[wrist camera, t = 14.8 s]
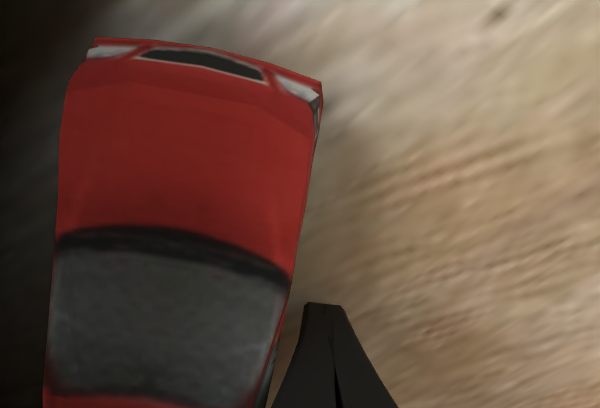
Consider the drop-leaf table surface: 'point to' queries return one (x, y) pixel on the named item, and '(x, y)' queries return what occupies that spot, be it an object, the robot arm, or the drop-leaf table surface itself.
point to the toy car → (175, 225)
